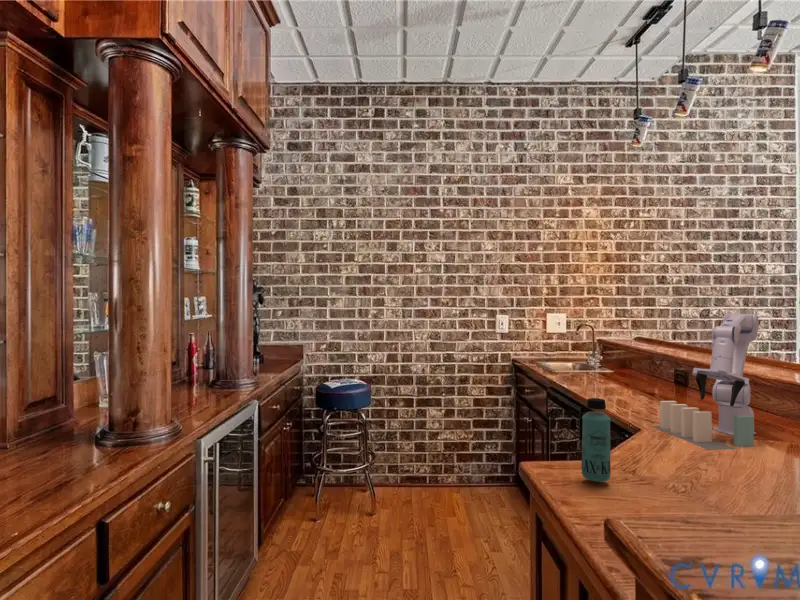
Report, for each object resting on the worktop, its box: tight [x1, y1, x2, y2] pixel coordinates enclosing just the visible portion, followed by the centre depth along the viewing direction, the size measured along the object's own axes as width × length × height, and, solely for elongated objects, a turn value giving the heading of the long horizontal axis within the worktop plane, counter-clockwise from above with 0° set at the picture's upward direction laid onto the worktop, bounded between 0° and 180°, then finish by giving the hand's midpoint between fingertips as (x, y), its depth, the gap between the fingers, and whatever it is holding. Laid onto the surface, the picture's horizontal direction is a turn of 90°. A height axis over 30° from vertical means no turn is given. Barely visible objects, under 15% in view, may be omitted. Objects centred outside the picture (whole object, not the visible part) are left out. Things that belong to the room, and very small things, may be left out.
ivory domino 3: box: [681, 406, 700, 437], centre depth 157 cm, size 5×2×9 cm, turn 95°
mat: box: [650, 425, 737, 451], centre depth 157 cm, size 9×28×1 cm, turn 5°
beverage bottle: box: [580, 397, 612, 482], centre depth 117 cm, size 6×7×20 cm
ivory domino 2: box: [670, 403, 689, 433], centre depth 162 cm, size 5×2×9 cm, turn 95°
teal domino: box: [733, 416, 755, 448], centre depth 147 cm, size 5×2×9 cm, turn 95°
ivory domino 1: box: [659, 400, 678, 429], centre depth 168 cm, size 5×2×9 cm, turn 95°
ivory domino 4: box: [693, 410, 713, 442], centre depth 151 cm, size 5×2×9 cm, turn 95°
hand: (717, 401), depth 149 cm, fingers open, 7 cm apart
